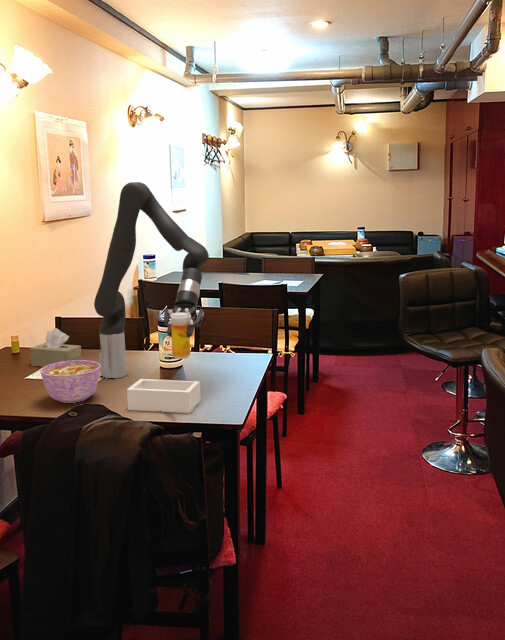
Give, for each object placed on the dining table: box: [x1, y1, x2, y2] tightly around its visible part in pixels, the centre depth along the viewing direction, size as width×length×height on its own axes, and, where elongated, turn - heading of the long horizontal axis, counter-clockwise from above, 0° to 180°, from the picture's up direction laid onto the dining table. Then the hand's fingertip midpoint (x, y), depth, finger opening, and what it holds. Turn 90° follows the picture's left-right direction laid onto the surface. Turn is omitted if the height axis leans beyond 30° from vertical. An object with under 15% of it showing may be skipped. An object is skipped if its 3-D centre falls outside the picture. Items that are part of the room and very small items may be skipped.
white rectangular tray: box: [126, 378, 201, 414], centre depth 211 cm, size 21×12×7 cm, turn 78°
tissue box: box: [29, 327, 83, 366], centre depth 264 cm, size 19×10×16 cm, turn 68°
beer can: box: [170, 313, 191, 360], centre depth 216 cm, size 6×6×15 cm
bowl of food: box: [39, 359, 101, 404], centre depth 218 cm, size 20×20×12 cm
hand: (179, 335), depth 215 cm, fingers closed on beer can, 6 cm apart
